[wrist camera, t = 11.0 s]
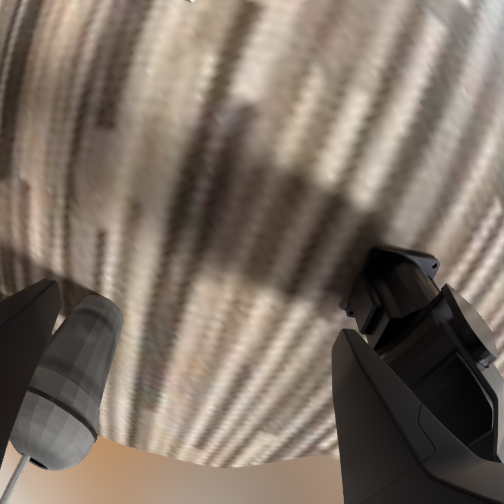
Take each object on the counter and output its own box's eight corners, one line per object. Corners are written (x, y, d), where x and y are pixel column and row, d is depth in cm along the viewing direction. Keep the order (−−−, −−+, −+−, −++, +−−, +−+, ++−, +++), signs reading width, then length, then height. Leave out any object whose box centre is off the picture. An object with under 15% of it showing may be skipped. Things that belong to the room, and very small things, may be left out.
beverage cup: (94, 346, 29) (26, 521, 12) (54, 290, 26) (-51, 473, 8) (151, 336, 28) (92, 549, 11) (110, 273, 24) (-2, 506, 7)
